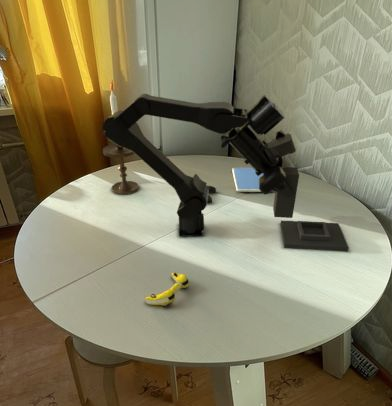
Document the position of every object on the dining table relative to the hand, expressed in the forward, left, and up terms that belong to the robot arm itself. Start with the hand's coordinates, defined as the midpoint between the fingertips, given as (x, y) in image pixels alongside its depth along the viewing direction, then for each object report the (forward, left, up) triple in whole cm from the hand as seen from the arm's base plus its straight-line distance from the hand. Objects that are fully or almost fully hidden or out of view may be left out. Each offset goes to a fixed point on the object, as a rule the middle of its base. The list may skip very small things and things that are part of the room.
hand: (291, 191), depth 89 cm
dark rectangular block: (-1, 0, -7) cm, 7 cm away
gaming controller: (-21, +24, -14) cm, 34 cm away
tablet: (-3, +35, -13) cm, 38 cm away
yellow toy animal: (-31, -22, -14) cm, 40 cm away
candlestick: (-48, +32, -14) cm, 59 cm away
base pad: (+7, -1, -13) cm, 15 cm away
